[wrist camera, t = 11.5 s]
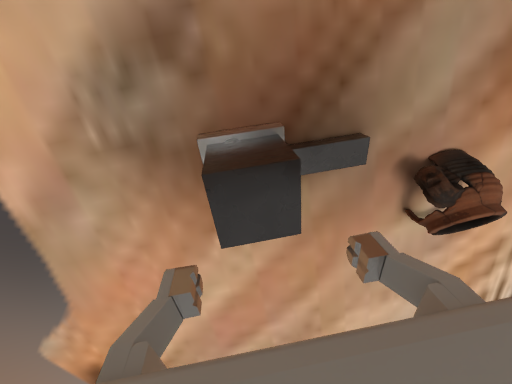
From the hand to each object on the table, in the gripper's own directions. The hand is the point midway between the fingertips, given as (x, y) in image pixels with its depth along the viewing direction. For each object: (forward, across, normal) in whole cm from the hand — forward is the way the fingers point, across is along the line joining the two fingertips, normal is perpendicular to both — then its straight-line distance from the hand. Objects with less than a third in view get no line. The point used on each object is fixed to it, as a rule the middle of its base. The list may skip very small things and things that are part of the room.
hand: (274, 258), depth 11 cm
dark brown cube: (+12, 0, 0) cm, 12 cm away
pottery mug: (+14, -23, +7) cm, 28 cm away
